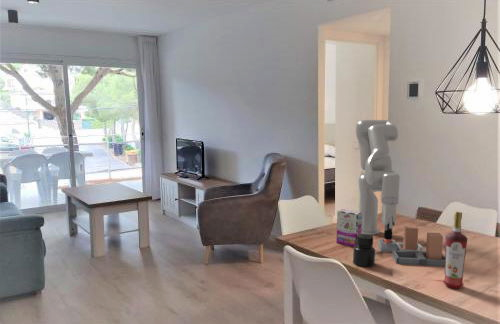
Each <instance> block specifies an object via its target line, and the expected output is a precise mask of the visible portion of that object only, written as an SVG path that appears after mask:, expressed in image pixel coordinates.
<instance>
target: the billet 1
mask: <svg viewBox="0 0 500 324" xmlns="http://www.w3.org/2000/svg"><path fill="white" fill-rule="evenodd" d="M418 236H419V227H417V225H412V224H411V225H409V224H404V225H403V242H402V243H403V247H402V249H405V250H418V248H417V244H418Z"/></svg>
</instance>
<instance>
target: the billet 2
mask: <svg viewBox="0 0 500 324" xmlns="http://www.w3.org/2000/svg"><path fill="white" fill-rule="evenodd" d="M443 241H444V235H442V234H441V233H440V232H428V231H427V232H426V247H425V251H426V259H437V260H442V253H443Z"/></svg>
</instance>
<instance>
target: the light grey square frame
mask: <svg viewBox="0 0 500 324" xmlns="http://www.w3.org/2000/svg"><path fill="white" fill-rule="evenodd" d="M396 243H397V251H413V252H426V249H424V247H423V246H422V245H421V243H417V250H405V249H403V242H396Z"/></svg>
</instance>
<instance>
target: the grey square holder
mask: <svg viewBox="0 0 500 324" xmlns="http://www.w3.org/2000/svg"><path fill="white" fill-rule="evenodd" d="M384 240H385V238H378V250H379V252H380V254H382V252H388V253H390V252H391V253H392V251H398V250H397V243H398V242H396V240H395V239H393V238H392V239H391V243H384Z"/></svg>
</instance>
